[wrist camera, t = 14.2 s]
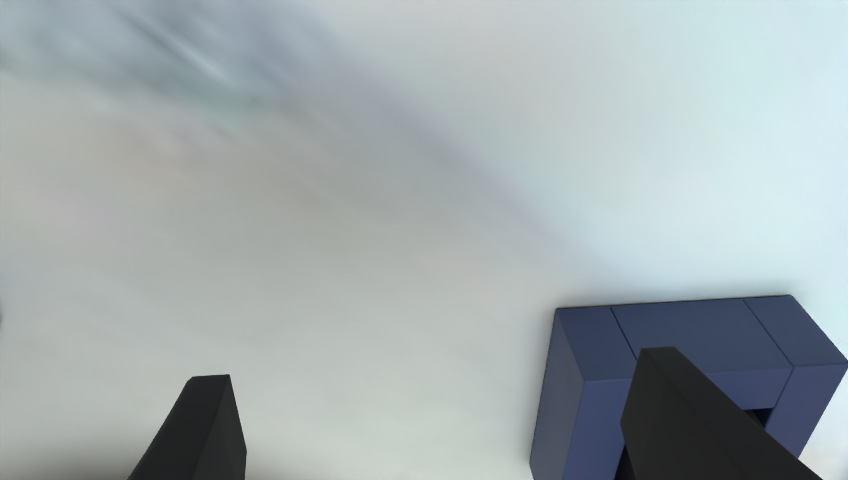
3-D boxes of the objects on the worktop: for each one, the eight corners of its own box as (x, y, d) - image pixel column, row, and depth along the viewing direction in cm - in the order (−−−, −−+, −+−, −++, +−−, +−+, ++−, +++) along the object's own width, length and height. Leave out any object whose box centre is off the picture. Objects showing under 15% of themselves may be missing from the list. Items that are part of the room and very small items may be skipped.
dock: (528, 463, 29) (548, 539, 26) (555, 308, 24) (584, 381, 21) (724, 447, 30) (765, 519, 27) (792, 294, 24) (852, 363, 22)
